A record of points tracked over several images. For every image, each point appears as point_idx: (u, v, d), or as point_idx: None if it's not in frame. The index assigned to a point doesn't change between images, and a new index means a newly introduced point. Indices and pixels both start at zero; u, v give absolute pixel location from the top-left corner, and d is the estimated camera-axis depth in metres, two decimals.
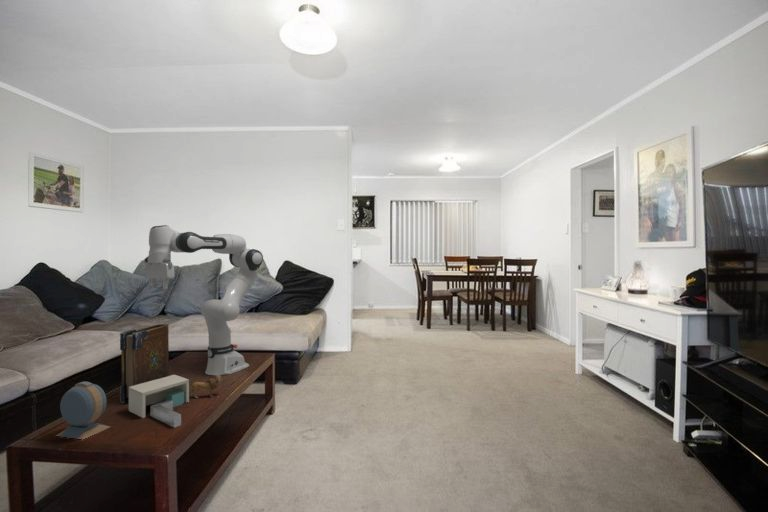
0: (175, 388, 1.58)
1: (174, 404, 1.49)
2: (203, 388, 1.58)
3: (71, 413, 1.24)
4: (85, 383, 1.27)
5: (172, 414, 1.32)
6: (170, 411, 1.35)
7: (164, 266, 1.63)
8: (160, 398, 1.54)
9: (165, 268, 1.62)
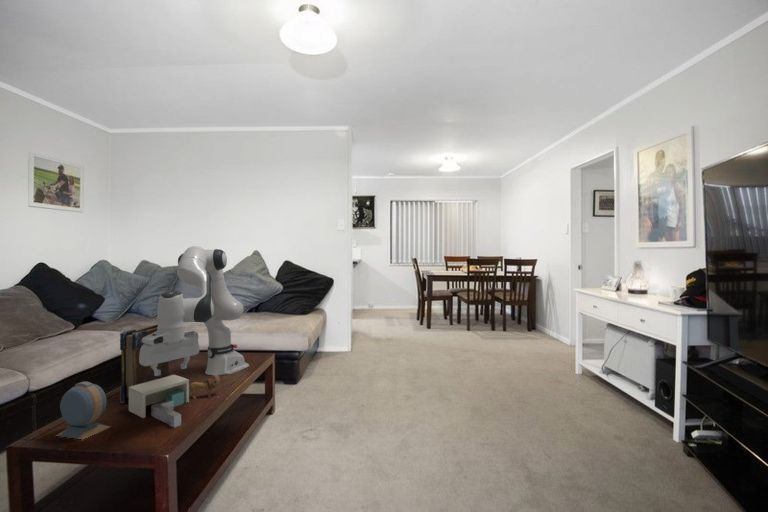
0: (175, 388, 1.58)
1: (174, 404, 1.49)
2: (201, 388, 1.58)
3: (71, 413, 1.24)
4: (85, 383, 1.27)
5: (172, 414, 1.32)
6: (170, 411, 1.35)
7: (193, 339, 1.39)
8: (160, 398, 1.54)
9: (196, 342, 1.40)
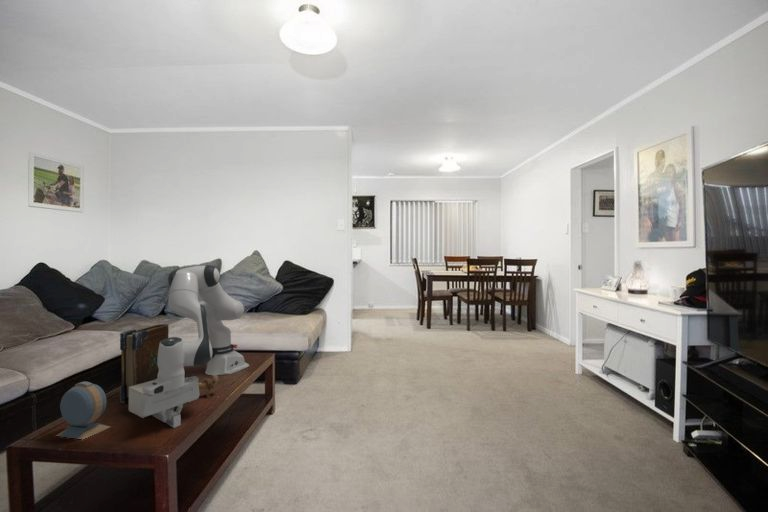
0: None
1: None
2: (200, 388, 1.58)
3: (71, 413, 1.24)
4: (85, 383, 1.27)
5: (172, 414, 1.32)
6: (170, 411, 1.35)
7: (194, 384, 1.39)
8: None
9: (196, 386, 1.40)
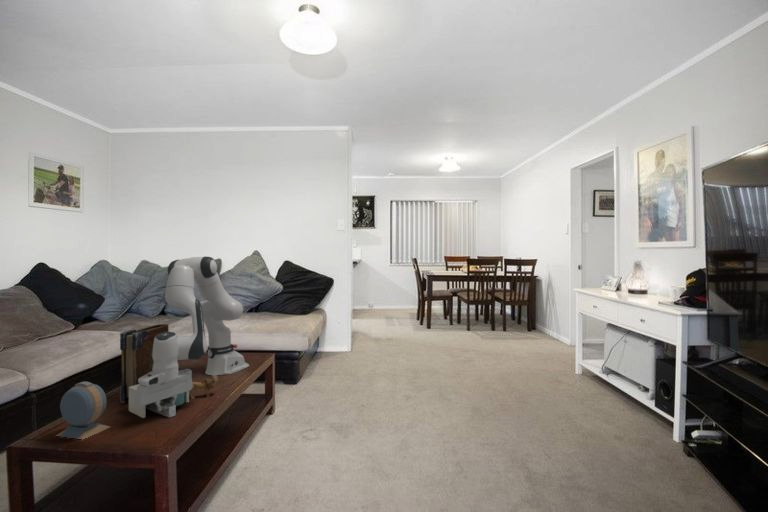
0: None
1: (174, 404, 1.49)
2: (199, 388, 1.58)
3: (71, 413, 1.24)
4: (85, 383, 1.27)
5: (167, 405, 1.40)
6: (165, 402, 1.43)
7: (187, 377, 1.47)
8: None
9: (190, 379, 1.48)
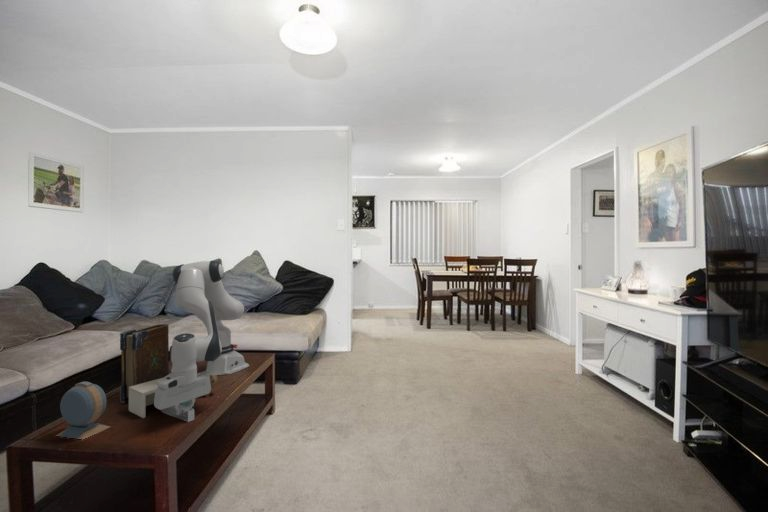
0: None
1: None
2: None
3: (71, 413, 1.24)
4: (85, 383, 1.27)
5: (185, 409, 1.37)
6: (183, 406, 1.39)
7: (205, 379, 1.43)
8: None
9: (208, 381, 1.44)
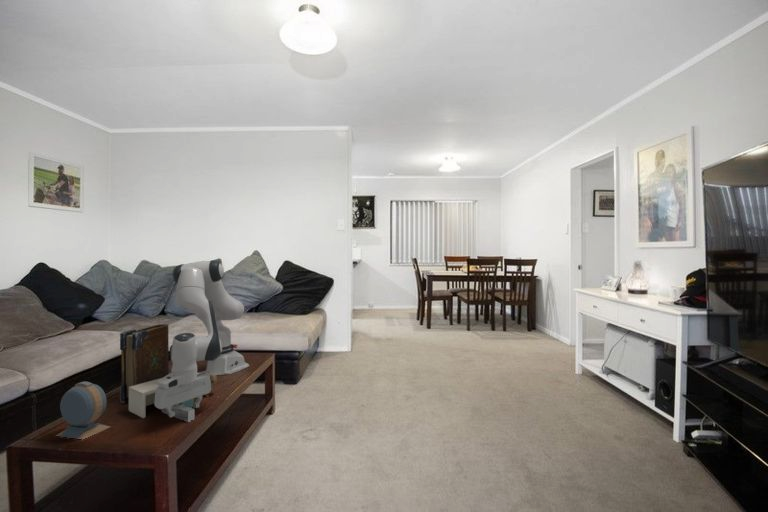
0: None
1: None
2: None
3: (71, 413, 1.24)
4: (85, 383, 1.27)
5: (186, 409, 1.37)
6: (183, 406, 1.39)
7: (206, 379, 1.43)
8: None
9: (208, 381, 1.44)
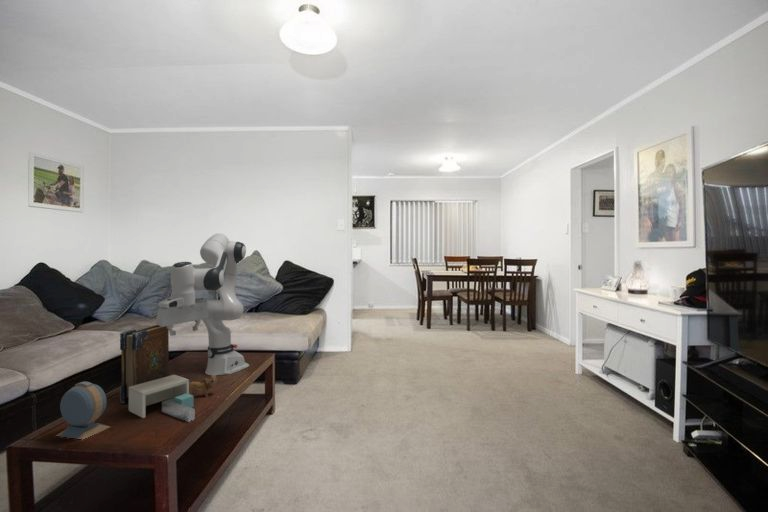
0: (175, 388, 1.58)
1: None
2: (198, 388, 1.58)
3: (71, 413, 1.24)
4: (85, 383, 1.27)
5: (186, 409, 1.37)
6: (183, 406, 1.39)
7: (203, 305, 1.56)
8: (160, 398, 1.54)
9: (205, 307, 1.57)
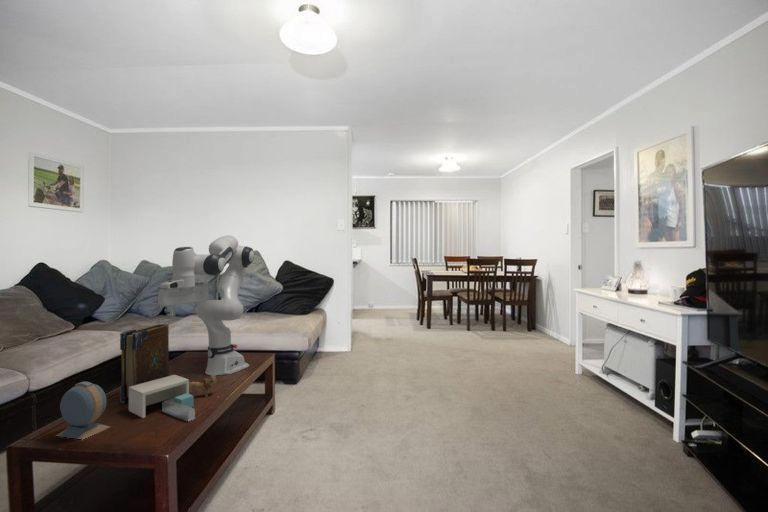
0: (175, 388, 1.58)
1: None
2: (198, 388, 1.58)
3: (71, 413, 1.24)
4: (85, 383, 1.27)
5: (186, 409, 1.37)
6: (183, 406, 1.39)
7: (202, 288, 1.64)
8: (160, 398, 1.54)
9: (204, 291, 1.65)
